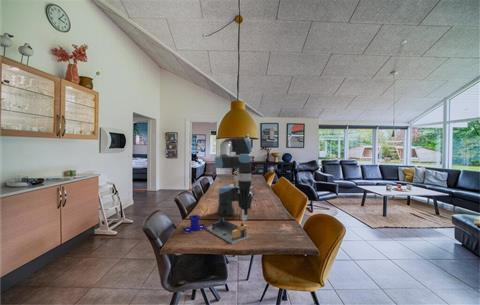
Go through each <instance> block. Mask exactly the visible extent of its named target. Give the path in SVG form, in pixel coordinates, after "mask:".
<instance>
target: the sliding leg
mask: <svg viewBox="0 0 480 305" xmlns="http://www.w3.org/2000/svg"><path fill="white" fill-rule="evenodd" d="M244 229H246V230H247V229H248V225H247V224H245V223H244V222H241V223H240V224H239V225H237V229H235V230H233V231H232V239H235V238H238V237H240V236H241V230H244Z"/></svg>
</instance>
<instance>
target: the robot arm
mask: <svg viewBox="0 0 480 305" xmlns="http://www.w3.org/2000/svg"><path fill="white" fill-rule="evenodd" d="M232 153H235V155H236V156H231V155H232ZM250 153H252V141H251V139H250V138H249V137H229V138H226V139H225V140H223V141H222V142H221V143H220V145H219V156H218V155H217V156H215V158H214V167H215V168H216V169H236V184H235V185H234V187H233V185H223V186H220V187H219V189H218V206H217V209H216V215H217V216H219V217H231V216H233V215H235V209H234V205H233V202H237V203H238V207H239V208H240V209H241V210H240V211H241V212H240V213H241V221H243V222H245V221H247V220H248V210H249V209H251V207H252V201H253V197H254V193H252V190H251V189H252V188H251V187H252V154H250Z"/></svg>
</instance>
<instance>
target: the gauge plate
mask: <svg viewBox="0 0 480 305" xmlns="http://www.w3.org/2000/svg"><path fill="white" fill-rule="evenodd" d="M220 217H221V218H218V221H214V222H212V225H211V226H206V227H207V228H206V229H207V230H206V229H205V230H206V231H208V230H209V231H208V232H210V233H211V232H212V234H213V235H216V236H217V237H219V238H221V239H222V240H224V241H225V242H227V243H229V244H231V245H234V244H237V243H238V242H241V241H244V240H246V239H249V238H250V235H249V234H247V233H248V232H247V229H244V230H241V236H240V237H238V238H235V239H232V231H233V230H235V229H237V226H238V225H237V224H234V223H232V222H230V221H228V220H226V219H225V216H220Z"/></svg>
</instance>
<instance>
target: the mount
mask: <svg viewBox="0 0 480 305" xmlns="http://www.w3.org/2000/svg"><path fill="white" fill-rule="evenodd" d="M188 220H189V221H190V225H189V226H186V227H185V226H184V227H182V228H181V230H182V229H183V230H184V231H185V232H190V233H192V232H191V231H195V232H197V231H196V230H199V231H201V230H200V229H204V230H206V229H205V228H207V227H208V226H206V225H205V224H204V223H200V220H201V216H200V215H198V214H192V215H190V216H189V217H188ZM199 223H200V224H199ZM200 226H203V227H200ZM186 229H189V230H186ZM183 230H182V231H183ZM185 232H184V233H185Z"/></svg>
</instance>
